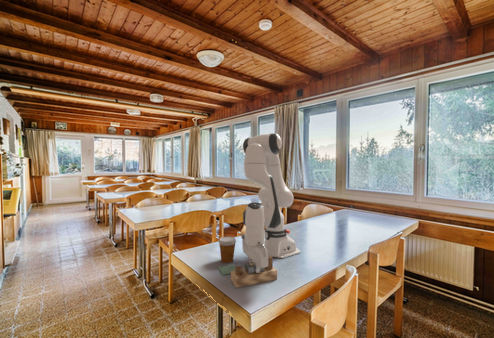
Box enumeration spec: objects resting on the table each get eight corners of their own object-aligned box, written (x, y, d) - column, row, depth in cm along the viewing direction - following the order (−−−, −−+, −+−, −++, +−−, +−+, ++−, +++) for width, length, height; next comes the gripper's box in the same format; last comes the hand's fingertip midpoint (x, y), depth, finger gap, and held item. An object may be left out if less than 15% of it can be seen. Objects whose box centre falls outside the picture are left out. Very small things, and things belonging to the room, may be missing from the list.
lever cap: (260, 267, 108) (260, 259, 108) (264, 271, 104) (264, 263, 104) (244, 270, 105) (244, 262, 105) (248, 274, 101) (248, 266, 101)
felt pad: (233, 265, 119) (233, 264, 119) (238, 272, 111) (238, 271, 111) (218, 268, 116) (218, 267, 116) (222, 275, 108) (222, 274, 108)
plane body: (269, 272, 112) (269, 254, 112) (277, 279, 105) (277, 259, 105) (229, 280, 104) (229, 260, 104) (234, 287, 97) (235, 266, 97)
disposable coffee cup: (236, 257, 130) (236, 236, 130) (235, 264, 120) (236, 241, 120) (219, 257, 129) (219, 236, 129) (217, 264, 120) (217, 241, 120)
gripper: (272, 245, 96) (271, 278, 96) (251, 232, 115) (251, 259, 115) (258, 247, 94) (258, 281, 94) (240, 233, 112) (240, 261, 113)
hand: (254, 269), depth 105 cm, fingers closed on lever cap, 4 cm apart
